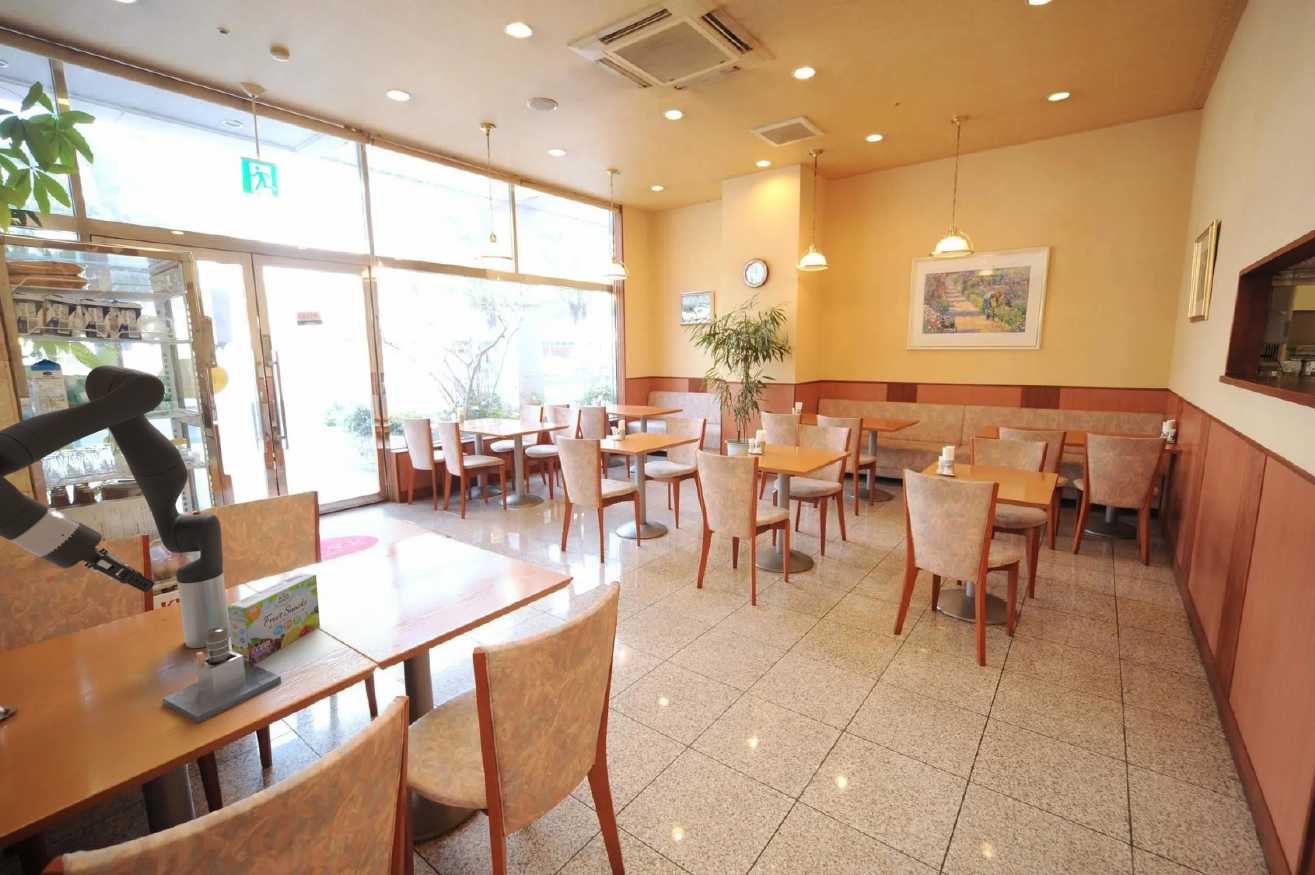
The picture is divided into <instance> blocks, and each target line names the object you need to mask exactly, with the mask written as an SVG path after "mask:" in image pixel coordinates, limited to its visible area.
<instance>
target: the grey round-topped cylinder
mask: <svg viewBox="0 0 1315 875" xmlns="http://www.w3.org/2000/svg"><path fill="white" fill-rule="evenodd" d="M206 642H207V647H206V650H207V656H208V657H209V664H210V665H212V666H216V665H218V664H220V663H223V662H225V661H227V660H230V659H231V658H230V650H231V649H230V642H229V637H228V634H227V628H226V627H216V628H213V629H210V630H208V631H207V632H206Z"/></svg>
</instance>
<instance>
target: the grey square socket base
mask: <svg viewBox="0 0 1315 875" xmlns="http://www.w3.org/2000/svg"><path fill="white" fill-rule="evenodd" d="M195 655H196V660H197V662H195V663H196V671H197V678H198V681H197V682H195V683H193V684H190V685H188V686H185V687H184V688H181V689H179V690H177V691H175V692H172V693H170V694H168V695H165V696H163V697H162V698H161V699H162V704H163V705H164V706H165V707H167V708H169V709H171V710H173V711H175V712H176V713H178V714H180V715H182V716H184V717H185V718H187V719H189V720H191V721H193V722H194V723H196V722H197V723H196V724H200V723H202V722H204V721H206V720H208V719H210V718H212V717H214V716H216V715H219V714H220V713H222V712H224V711H226V710H228V709H230V708H233V707H235V706H236V705H239V704H241V703H242V702H245V701H247V700H249V699H251V698H253V697H254V695H255V696H256V694H257V695H258V694H260V693H262V692H264V691H267V690H269V689H272V688H273V687H275V686H277V685H279V684H281V683H282V678H281V677H282V676H281V675H279V674H277V673H274V672H272V671H269V670H267V669H266V668H265V669H264V668H263V667H261V666H258V665H256V664H254V665H253V664H251V663H248V662H246V661H245V662H244V661H243V655H240V654H238V653H236V652H233V651H232V649H230V658H231V659H230V660H227V661H225V662H223V663H220V664H218V665H216V666H212V665H210V664H209V656H208V657H205V653H204V652H202V651H199V652H197V653H196V654H195ZM248 698H249V699H248ZM246 699H247V700H246ZM244 700H245V701H244ZM238 703H239V704H238ZM221 711H222V712H221ZM219 712H220V713H219ZM213 715H214V716H213ZM211 716H212V717H211ZM209 717H210V718H209ZM205 719H206V720H205ZM203 720H204V721H203ZM201 721H202V722H201Z"/></svg>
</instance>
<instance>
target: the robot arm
mask: <svg viewBox="0 0 1315 875" xmlns="http://www.w3.org/2000/svg"><path fill="white" fill-rule="evenodd" d="M84 386H85V387H84V389H85V394H86V396H87V399H88V400H89V401H88V402H85V403H83V404H79V405H75V406H72V407H69V408H64V409H59V410H55V411H51V412H47V413H41V414H38V415H35V416H32V417H29V418H26V419H23V420H21V421H17V422H16V423H13V424H12V425H9V426H7V427H5V428H3V429H1V430H0V536H1V537H2V538H4V539H6V540H8V541H10V542H12V543H14V544H15V545H17V546H18V547H19V548H21V549H23V550H25V551H26V552H28V553H31V554H33V555H35V556H36V557H39V558H41V559H42V560H45V561H47V562H49V563H51V564H53V565H55V566H57V567H59V568H62V569H69V568H72V567H74V566H76V565H77V564H78V563H79V562H85V563H84V564H83V566H84V567H85V568H86V569H88V570H90V571H91V572H95V573H99V574H101V575H103V577H106V578H108V579H111V580H114V579H115V580H117V581H118V582H119V583H121V584H125V585H126V584H128V585H129V586H131V587H134V588H135V589H136V590H139V591H141V592H142V593H147V592H149V591H150V589H152V588H153V587H154V586H155V584H156V583H155V581H153V580H151V579H149V578H147V577H146V576H144V575H143V573H142V572H140V571H138V570H136V569H134V568H132V567H131V566H129V564H128V563H127V562H126V561H124V560H123V559H121V558H120V557H119V556H117V555H116V554H115V553H113V552H112V551H111V550H108V549H106V548H105V547H102V548H101V549H99V548H97V546H98V545H99V544H100V543H101V541H102V538H103V536H102V534H101V533H99V532H98V531H96V530H94V529H93V528H91V527H89V526H87V525H86V524H83V523H82V522H80V521H78V520H77V519H74V518H73V517H70V516H69V515H67V514H65V513H63V512H60V511H58V510H55V509H54V508H52V507H49V506H47V505H45V504H44V503H42V502H40V501H38V500H36V499H34V498H33V497H30V496H29V495H27V494H24V492H23V493H22V492H21V491H20V490H19V489H18V488H17V487H16V486H15V485H14V484H13V483H11V482H10V481H9V480H8V479H6V478H5V477H6V476H8V475H10V474H14V473H16V472H18V471H22V470H23V469H25V468H28V467H30V466H31V465H33V464H34V463H36V462H39V461H41V460H43V459H44V458H46V457H48V456H49V455H51V454H54V453H55V452H57V451H58V450H60V449H62V448H64V447H66V446H70V445H71V444H72V443H74V442H77V441H79V440H81V439H84V438H86V437H88V436H90V435H93V434H96V433H99V432H101V431H104V430H106V429H109V432H110V433H111V434H112V437H113V438H114V440H115V443H116V445H117V446H118V448H119V451H120V452H121V453H122V455H123V457H124V459H125V461H126V463H127V466H128V468H129V470H130V472H131V475H132V476H133V478H134V480H135V482H136V485H137V486H138V488H139V489H140V491H141V493H142V495H143V497H144V500H145V501H146V503H147V505H148V507H149V510H150V512H151V514H152V516H153V520H154V522H155V526H156V528H157V531H158V536H159V537H160V541H161V542H162V544H163V546H164V548H165V549H166V550H167V551H168V552H170V553H173V554H182V553H183V554H184V553H194V552H200V556H199V558H197V559H196V560H193V561H190V562H188V563H186V564H184V565H182V566H180V567H179V568H177V570H176V572H175V573H176V574H175V576H176V584H177V590H178V599H179V603H180V604H179V605H180V611H181V612H180V614H181V619H182V626H183V635H184V642H185V646H186V648H189V649H199V648H207V642H206V632H207V631H208V630H210V629H213V628H216V627H226V628H227V634H228V638H230V637H231V635H230V626H229V616H228V606H229V605H228V600H227V591H226V583H225V577H224V568H223V563H224V562H223V561H224V559H223V543H222V542H223V541H222V528H221V522H220V520H219V518H218V516H217V515H215V514H214V513H204V514H203V513H200V514H191V515H189V514H188V515H182V514H180V513H179V511H178V509H177V507H176V506H177V501H178V500H179V497H180V495H181V493H182V492H183V491H184V489H185V486H186V484H187V482H188V480H189V479H188V478H189V471H188V468H187V465H186V464H185V461H184V460H183V458H182V454H181V453H180V451H179V449H178V448H177V446H176V445H175V444H174V443H173V442H172V441H171V440H170V439H169V438H168V437H166V435H165V434H164V433H162V432H161V431H160V430H159V429H158V428H157V427H155V426H154V424H153V423H152V422H150V421H149V419H148V418H147V417H146V414H148V413H150V412H152V411H153V410H155V409H156V408H158V407H159V406H160V405H161V403H162V401H163V400H164V397H165V392H166V390H165V385H164V383H163V381H162V379H160V378H159V377H158V376H157V375H154V374H152V373H150V372H147V371H142V370H139V369H134V368H129V367H124V366H118V365H112V364H111V365H110V364H109V365H108V364H105V365H98V366H96V367H95V368H93V369H92V370H91V371H90V372H89V373H88V374H87V376H86V379H85V384H84Z"/></svg>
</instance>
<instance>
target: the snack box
mask: <svg viewBox="0 0 1315 875" xmlns="http://www.w3.org/2000/svg"><path fill="white" fill-rule="evenodd" d="M317 583H318V582H317V574H314V573H313V574H312V573H297V574H295V575H293V576H291V577H289V578H287V579H284V580H282V581H279V582H277V583H275V584H274V585H271V586H269V587H267V588H265V589H262V590H260V591H258V592H255V593H253V594H251V595H249V596H246V597H244V598H243V599H241V600H238V601H236V602H233V603H231V604H229V605H227V606H228V616H229V626H230V644H231V651H233V652H236V653H238V654H240V655H243V661H244V662H245V661H246V662H248V663H251V664H253V665H256V664H257V663H260V662H261V661H263V660H264V659H266V658H268V657H269V656H271V655H272V654H274V653H277V652H278V651H280V650H282V649H283V648H284V647H286V646H288V645H290V644H292V643H294V642H295V641H297V640H299V639H300V638H302V637H304V636H306V635H307V634H309V633H311V632H312V631H313V630H316V629H318V628H319V627H320V626H321V621H320V610H319V597H318V596H319V594H318V584H317ZM318 626H319V627H318ZM315 628H316V629H315ZM311 630H312V631H311ZM310 631H311V632H310Z"/></svg>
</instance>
